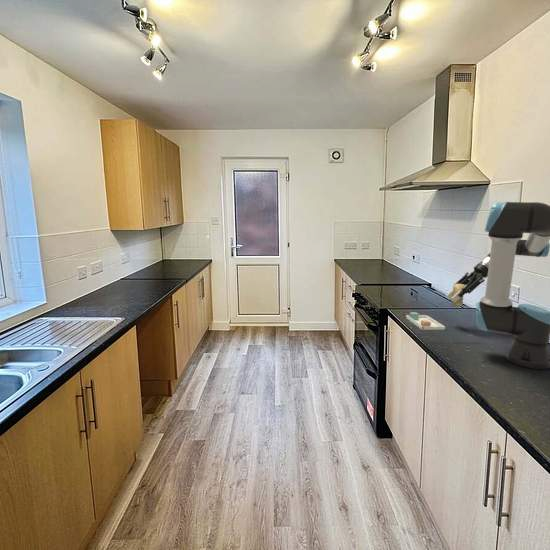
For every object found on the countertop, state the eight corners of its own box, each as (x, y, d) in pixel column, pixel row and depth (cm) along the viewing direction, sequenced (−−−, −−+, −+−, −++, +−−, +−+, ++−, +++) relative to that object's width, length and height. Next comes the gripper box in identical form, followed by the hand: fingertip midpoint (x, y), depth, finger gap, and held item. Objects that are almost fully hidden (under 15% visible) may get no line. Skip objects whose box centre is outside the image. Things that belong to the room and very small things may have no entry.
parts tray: (445, 331, 187) (445, 326, 187) (421, 331, 187) (422, 326, 186) (426, 319, 208) (426, 315, 207) (405, 319, 207) (405, 315, 207)
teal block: (418, 320, 203) (418, 314, 202) (412, 320, 202) (412, 314, 202) (415, 318, 206) (416, 312, 205) (409, 318, 206) (410, 312, 205)
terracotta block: (430, 328, 188) (430, 322, 187) (423, 328, 188) (424, 322, 187) (427, 326, 191) (427, 320, 191) (420, 326, 191) (421, 320, 191)
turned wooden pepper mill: (464, 306, 187) (466, 285, 185) (454, 306, 187) (456, 285, 185) (458, 304, 192) (461, 283, 190) (449, 304, 192) (451, 283, 190)
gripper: (501, 276, 178) (464, 308, 180) (479, 270, 196) (446, 299, 198) (492, 265, 177) (455, 298, 179) (470, 260, 195) (437, 290, 197)
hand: (450, 298), depth 188 cm, fingers closed on turned wooden pepper mill, 5 cm apart
